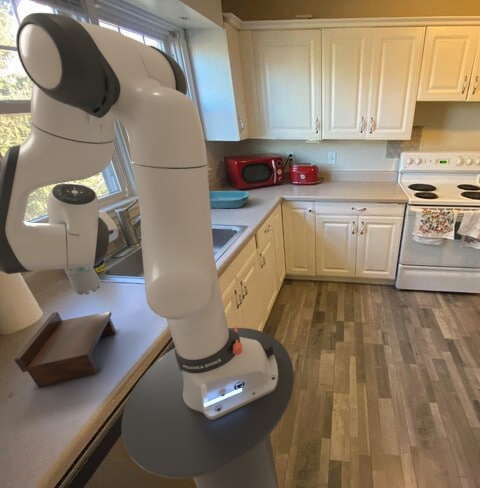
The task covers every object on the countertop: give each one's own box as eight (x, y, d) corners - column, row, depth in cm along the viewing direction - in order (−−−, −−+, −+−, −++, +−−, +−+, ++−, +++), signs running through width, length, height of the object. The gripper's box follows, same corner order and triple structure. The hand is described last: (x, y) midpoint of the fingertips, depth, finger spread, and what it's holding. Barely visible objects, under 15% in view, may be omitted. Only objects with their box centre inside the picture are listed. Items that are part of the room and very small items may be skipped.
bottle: (69, 294, 81) (37, 231, 72) (93, 282, 87) (65, 222, 78) (85, 298, 79) (54, 234, 70) (108, 286, 85) (82, 224, 76)
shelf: (118, 329, 86) (107, 303, 81) (97, 374, 71) (82, 345, 67) (67, 340, 82) (52, 312, 78) (34, 389, 68) (13, 359, 63)
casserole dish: (192, 209, 189) (189, 199, 186) (207, 199, 209) (205, 190, 206) (244, 210, 186) (243, 199, 183) (255, 200, 206) (253, 190, 203)
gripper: (25, 258, 61) (30, 283, 70) (124, 226, 77) (118, 250, 86) (8, 235, 62) (15, 263, 70) (110, 209, 77) (106, 234, 86)
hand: (72, 256), depth 78 cm, fingers closed on bottle, 6 cm apart
